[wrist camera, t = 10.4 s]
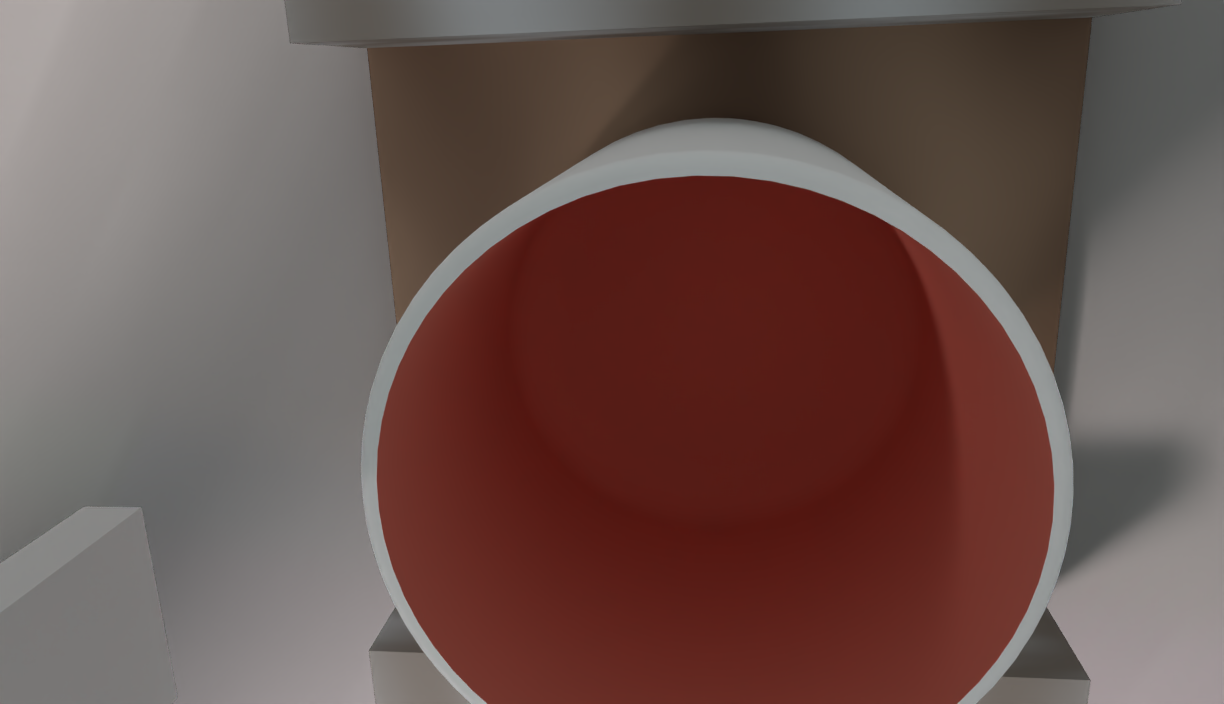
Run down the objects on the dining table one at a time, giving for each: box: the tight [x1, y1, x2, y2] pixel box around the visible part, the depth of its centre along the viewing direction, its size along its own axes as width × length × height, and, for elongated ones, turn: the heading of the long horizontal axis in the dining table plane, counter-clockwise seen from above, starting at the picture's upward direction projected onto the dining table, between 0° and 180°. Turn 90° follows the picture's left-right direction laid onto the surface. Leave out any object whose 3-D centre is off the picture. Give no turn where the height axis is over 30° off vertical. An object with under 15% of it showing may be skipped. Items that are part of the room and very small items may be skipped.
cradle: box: [285, 0, 1182, 704], centre depth 21 cm, size 16×16×5 cm
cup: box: [361, 118, 1074, 704], centre depth 18 cm, size 10×10×10 cm
